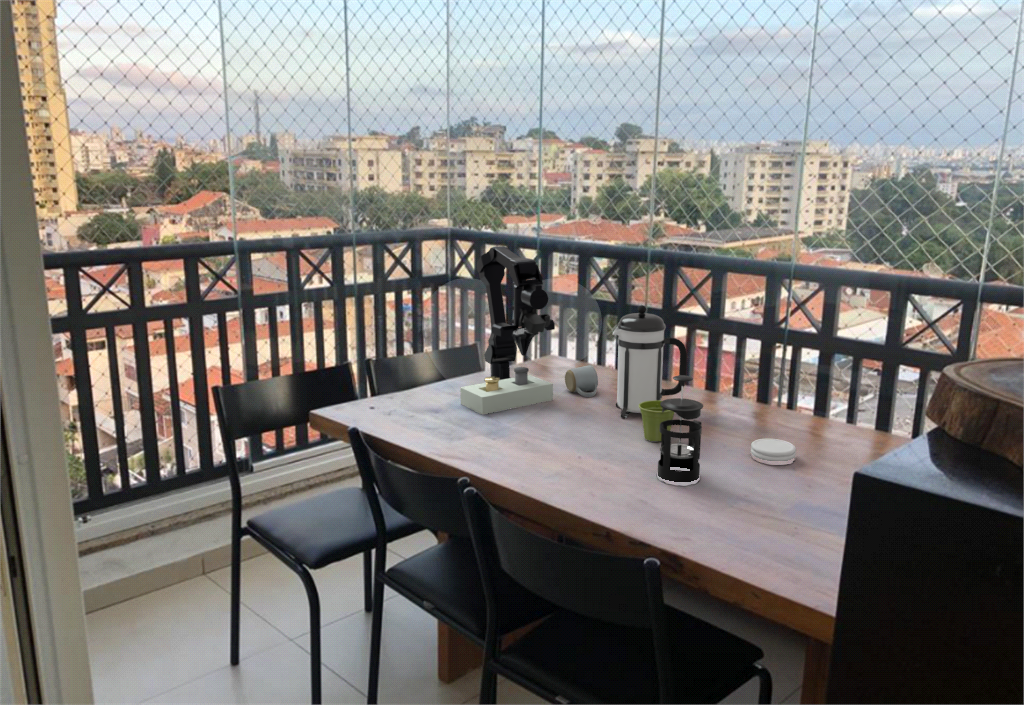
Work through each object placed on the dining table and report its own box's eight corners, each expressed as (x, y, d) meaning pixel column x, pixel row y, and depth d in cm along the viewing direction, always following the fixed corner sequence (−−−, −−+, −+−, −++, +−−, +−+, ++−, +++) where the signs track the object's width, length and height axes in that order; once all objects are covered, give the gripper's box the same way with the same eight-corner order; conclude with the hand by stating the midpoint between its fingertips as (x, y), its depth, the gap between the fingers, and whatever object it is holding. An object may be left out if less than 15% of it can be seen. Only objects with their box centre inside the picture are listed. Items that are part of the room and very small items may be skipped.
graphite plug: (511, 393, 231) (511, 368, 229) (523, 391, 233) (523, 366, 231) (519, 396, 228) (519, 371, 226) (531, 394, 230) (531, 369, 228)
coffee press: (645, 425, 207) (649, 313, 200) (600, 411, 219) (602, 305, 212) (685, 412, 218) (690, 305, 211) (640, 399, 230) (644, 297, 223)
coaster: (765, 469, 178) (766, 454, 177) (741, 453, 188) (742, 439, 187) (804, 464, 181) (805, 450, 180) (778, 449, 190) (779, 435, 189)
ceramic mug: (563, 389, 241) (563, 365, 239) (587, 386, 243) (587, 362, 242) (578, 399, 231) (579, 374, 229) (603, 396, 234) (604, 371, 232)
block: (460, 404, 227) (460, 387, 225) (529, 390, 239) (529, 374, 238) (482, 414, 217) (482, 397, 216) (552, 400, 230) (553, 383, 228)
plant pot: (630, 439, 197) (631, 406, 195) (651, 429, 204) (652, 397, 202) (662, 448, 191) (663, 413, 189) (682, 438, 198) (684, 405, 196)
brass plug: (482, 403, 226) (481, 377, 224) (494, 401, 228) (494, 375, 226) (490, 407, 223) (489, 381, 221) (502, 404, 225) (502, 378, 223)
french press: (680, 490, 166) (685, 385, 161) (645, 477, 173) (649, 376, 168) (713, 476, 174) (719, 375, 168) (679, 464, 181) (683, 367, 175)
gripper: (511, 311, 217) (511, 366, 221) (566, 304, 226) (565, 357, 230) (490, 304, 226) (490, 357, 230) (544, 298, 235) (543, 349, 239)
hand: (523, 355), depth 232 cm, fingers closed
